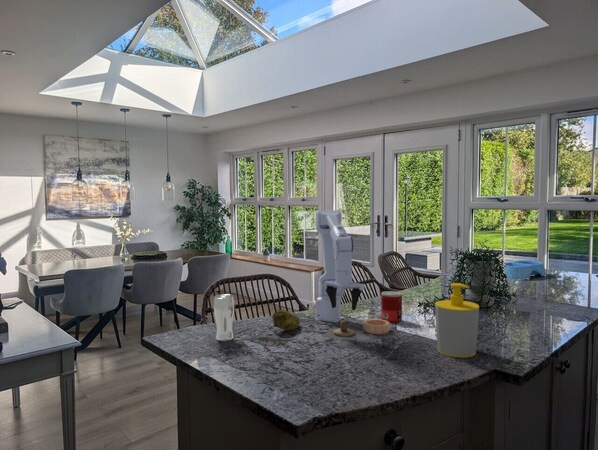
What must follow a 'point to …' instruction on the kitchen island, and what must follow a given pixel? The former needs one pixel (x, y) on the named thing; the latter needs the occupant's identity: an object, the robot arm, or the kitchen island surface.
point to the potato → (285, 320)
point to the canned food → (391, 306)
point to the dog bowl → (524, 269)
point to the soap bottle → (457, 324)
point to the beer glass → (224, 316)
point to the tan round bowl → (376, 326)
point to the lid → (344, 330)
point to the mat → (352, 338)
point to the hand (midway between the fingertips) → (343, 308)
